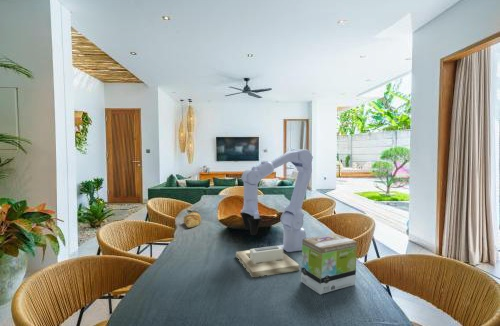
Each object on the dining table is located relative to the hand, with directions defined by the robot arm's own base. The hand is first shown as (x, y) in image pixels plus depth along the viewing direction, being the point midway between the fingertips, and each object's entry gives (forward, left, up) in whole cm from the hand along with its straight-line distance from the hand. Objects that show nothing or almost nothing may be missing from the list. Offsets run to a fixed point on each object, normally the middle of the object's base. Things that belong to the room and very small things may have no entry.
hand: (250, 232), depth 116 cm
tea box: (-16, +31, -10) cm, 36 cm away
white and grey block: (-3, +10, -10) cm, 14 cm away
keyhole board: (-3, +9, -10) cm, 14 cm away
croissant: (+16, -58, -10) cm, 61 cm away
